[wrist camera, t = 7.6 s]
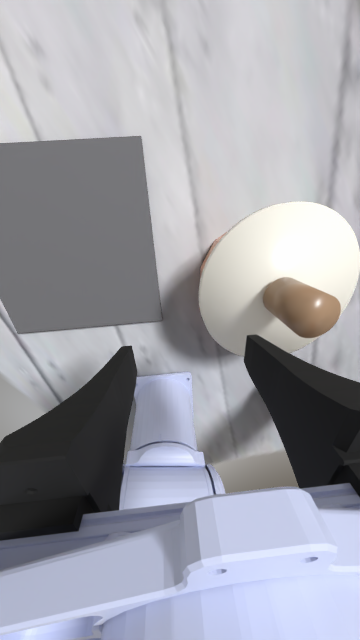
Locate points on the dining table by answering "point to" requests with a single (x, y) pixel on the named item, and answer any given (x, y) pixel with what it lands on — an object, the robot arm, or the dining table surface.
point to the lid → (279, 277)
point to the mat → (76, 234)
